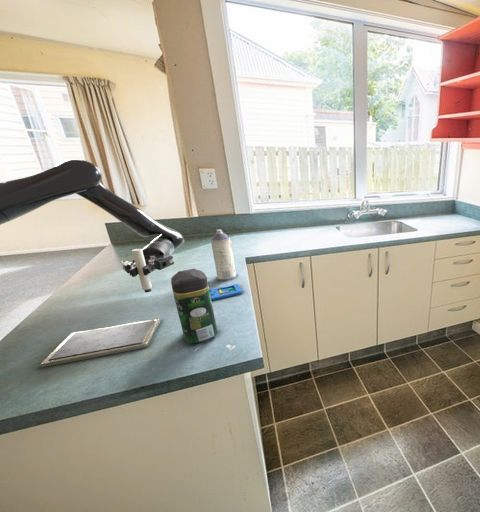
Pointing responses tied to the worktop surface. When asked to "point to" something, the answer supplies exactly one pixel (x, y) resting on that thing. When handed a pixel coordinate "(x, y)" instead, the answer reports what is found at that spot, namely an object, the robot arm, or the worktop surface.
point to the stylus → (140, 265)
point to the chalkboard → (103, 342)
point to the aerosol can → (223, 256)
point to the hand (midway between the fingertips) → (138, 272)
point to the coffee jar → (194, 305)
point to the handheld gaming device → (225, 291)
